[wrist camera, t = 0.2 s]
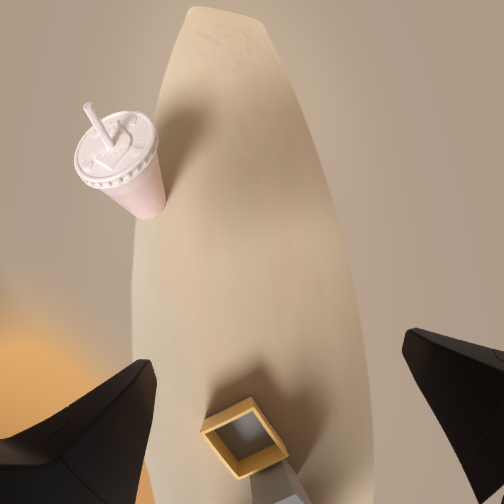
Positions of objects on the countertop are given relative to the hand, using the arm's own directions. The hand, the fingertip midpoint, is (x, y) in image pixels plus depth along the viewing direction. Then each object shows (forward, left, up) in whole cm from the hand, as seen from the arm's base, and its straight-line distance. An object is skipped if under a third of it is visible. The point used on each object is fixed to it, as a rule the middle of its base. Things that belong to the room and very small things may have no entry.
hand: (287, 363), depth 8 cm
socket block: (-7, +5, -14) cm, 17 cm away
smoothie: (+16, +3, -15) cm, 22 cm away
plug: (-12, +5, -14) cm, 19 cm away
